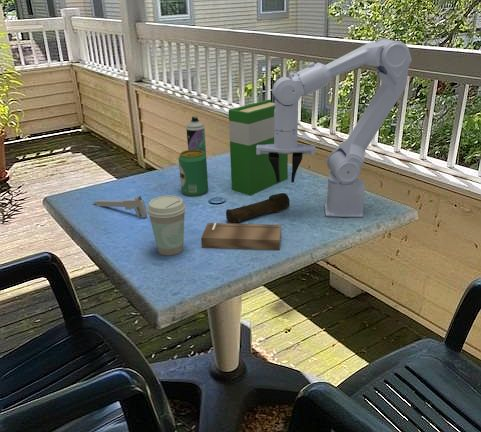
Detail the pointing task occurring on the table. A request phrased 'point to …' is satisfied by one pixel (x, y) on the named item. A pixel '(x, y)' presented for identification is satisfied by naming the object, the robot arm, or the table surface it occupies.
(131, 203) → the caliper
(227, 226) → the walnut board
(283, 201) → the dark brown rod
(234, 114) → the hardback book
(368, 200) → the table surface
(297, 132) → the robot arm
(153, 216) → the coffee cup
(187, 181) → the green can
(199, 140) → the spray can
